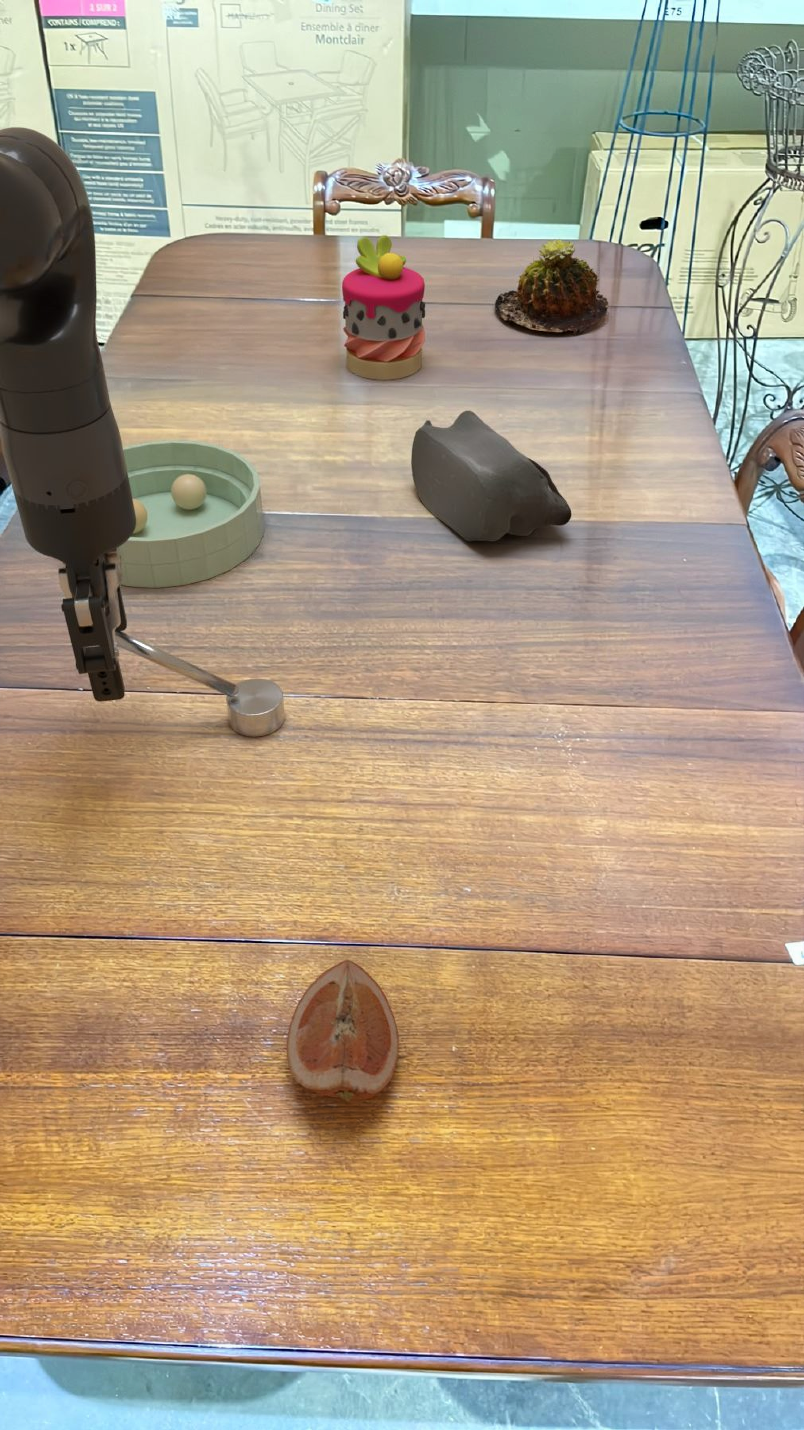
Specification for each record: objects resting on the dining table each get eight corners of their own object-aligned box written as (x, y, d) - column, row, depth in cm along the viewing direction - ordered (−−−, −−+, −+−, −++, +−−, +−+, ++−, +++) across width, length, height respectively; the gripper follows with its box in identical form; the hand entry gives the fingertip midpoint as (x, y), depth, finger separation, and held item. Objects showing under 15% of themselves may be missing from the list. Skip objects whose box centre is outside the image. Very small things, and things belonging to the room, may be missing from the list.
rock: (584, 537, 110) (593, 467, 104) (490, 568, 106) (495, 496, 100) (486, 460, 122) (490, 394, 117) (399, 485, 118) (399, 418, 112)
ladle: (284, 698, 91) (275, 597, 84) (285, 735, 88) (275, 633, 81) (121, 708, 90) (97, 608, 83) (115, 746, 87) (91, 644, 80)
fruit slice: (397, 1129, 63) (397, 1085, 59) (281, 1127, 63) (275, 1082, 59) (400, 1004, 69) (400, 958, 66) (295, 1002, 69) (289, 956, 66)
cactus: (493, 289, 160) (497, 220, 154) (600, 291, 160) (609, 222, 153) (495, 336, 147) (500, 262, 141) (613, 338, 147) (623, 265, 140)
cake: (441, 362, 141) (444, 244, 131) (384, 388, 135) (383, 266, 125) (383, 340, 146) (382, 224, 136) (327, 364, 141) (321, 245, 131)
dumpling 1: (159, 515, 109) (132, 511, 111) (142, 492, 106) (113, 488, 108) (144, 543, 108) (116, 539, 109) (125, 521, 105) (97, 517, 106)
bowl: (66, 603, 101) (52, 549, 97) (77, 499, 115) (66, 447, 111) (271, 584, 104) (266, 530, 100) (257, 484, 118) (252, 433, 114)
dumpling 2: (213, 506, 111) (212, 489, 113) (194, 479, 108) (194, 462, 111) (183, 521, 111) (183, 504, 114) (164, 495, 109) (164, 477, 112)
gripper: (20, 426, 76) (67, 612, 87) (-1, 534, 66) (55, 730, 77) (128, 418, 77) (161, 603, 88) (124, 523, 67) (162, 718, 78)
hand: (112, 662), depth 83 cm, fingers open, 8 cm apart
